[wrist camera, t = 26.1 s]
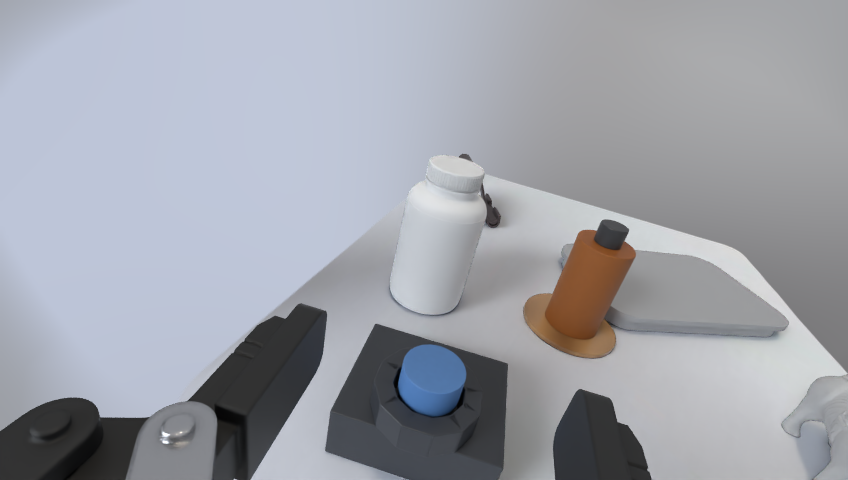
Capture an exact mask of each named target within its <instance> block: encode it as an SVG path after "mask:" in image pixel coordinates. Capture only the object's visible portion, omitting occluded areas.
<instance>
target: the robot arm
mask: <svg viewBox="0 0 848 480" xmlns="http://www.w3.org/2000/svg"><path fill="white" fill-rule="evenodd" d="M326 320H327V312H326V311H324V310H321V309H318V308H314V307H311V306H308V305H304V304H298V305H297V306H296V307H295V308H294V310H293V311H292V312H291V313H290V314H289V316H288V317H287V318H286V319H284V318H281V317H278V316H274V317H272V318H270V319H268V320H267V321H265V322H263V323H261V324H259V325H257V326H256V328H255V329H254V330H253V331H252V332H251V333H250V334H249V335H248V336H247V337H246V338H245V341H244V342H242V343H241V344H240V345H239V346H238V347H237V348H236V349H235V351H234V353H232V354H231V355H230V356H229V357H228V358H227V359H226V360H225V361H224V362H223V363H222V365H221V366H220V367H219V368H218V369H217V370H216V371H215V372H214V373H213V374H212V375H211V376H210V378H209V379H208V380H207V381H206V382H205V383H204V384H203V385H202V386H201V387H200V388H199V390H198V391H197V392H196V393H195V394H194V395H193V396H192V397H191V398H190V399H189V400H188V401H186V402H179V403H175V404H172V405H169V406H167V407H165V408H163V409H161V410H159V411H157V412H156V413H155V414H153V415H152V416H151V417H147V418H101V417H100V415H99V412H98V409H97V407H96V406H95V405H94V404H93V403H92V402H90V401H89V400H86V399H83V398H64V399H58V400H54V401H51V402H47V403H45V404H42V405H40V406H38V407H36V408H34V409H32V410H30V411H29V412H27V413H25V414H24V415H22V416H21V417H20V418H18V419H17V420H15V421H14V422H13V423H11V424H10V425H8V426H7V427H6V428H4V429H3V430H1V431H0V480H233V479H237V480H250V479H251V478H252V476H253V474H254V473H255V471H256V470H257V468H258V466H259V465H260V463H261V461H262V460H263V458H264V456H265V455H266V453H267V452H268V450H269V448H270V447H271V445H272V443H273V442H274V440H275V439H276V437H277V435H278V434H279V432H280V430H281V429H282V427H283V426H284V424H285V422H286V421H287V419H288V417H289V416H290V414H291V413H292V411H293V409H294V408H295V406H296V404H297V403H298V401H299V399H300V398H301V396H302V395H303V393H304V391H305V390H306V388H307V386H308V385H309V383H310V382H311V380H312V378H313V377H314V375H315V373H316V371H317V369H318V367H319V365H320V362H321V359H322V355H323V348H324V339H325V330H326ZM553 455H554V468H555V480H651V476H650V473H649V472H648V471H647V469H648V466H647V463H646V459H645V456H644V452H643V449H642V446H641V445H640V443H639V442H638V440H637V439H636V437H635V436H634V434H633V432H632V431H631V429H630V428H629V426H628V425H624V424H621V423H618V422H617V419H616V415H615V411H614V407H613V403H612V401H611V399H610V398H608V397H605V396H601V395H598V394H595V393H592V392H588V391H585V390H582V389H579V390H577V392H576V393H575V395H574V396H573V398H572V400H571V402H570V404H569V406H568V408H567V410H566V411H565V413H564V415H563V417H562V419H561V421H560V423H559V425H558V427H557V429H556V432H555V437H554V443H553Z"/></svg>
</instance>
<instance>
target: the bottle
mask: <svg viewBox="0 0 848 480" xmlns="http://www.w3.org/2000/svg"><path fill="white" fill-rule="evenodd" d="M628 232H629V229H628V228H627V227H626V226H624V225H623V224H621V223H618V222H616V221H612V220H602V221H601V223H600V225H599V228H598V230H597V231H595V230H583V231H580V232H579V233H578V236H577V238H576V240H575V243H574V245H573V247H572V250H571V252H570V254H569V257H568V259H567V261H566V264H565V266H564V268H563V271H562V273H561V276H560V278H559V280H558V283H557V285H556V287H555V290H554V292H553V294H552V297H551V299H550V301H549V304H548V306H547V308H546V311H545V316H546V319H547V321H548V322H549V323H550V324H551V326H553V327H554V328H555V329H556V330H558V331H559V332H561V333H562V334H564V335H567V336H569V337H572V338H575V339H582V340H586V339H590V338H592V337H594V336H595V334H596V333H597V331H598V329H599V327H600V325H601V323H602V321H603V319H604V317H605V315H606V313H607V311H608V309H609V307H610V305H611V303H612V302H613V300H614V298H615V296H616V294H617V292H618V290H619V288H620V286H621V284H622V282H623V280H624V278H625V276H626V274H627V272H628V271H629V269H630V267H631V265H632V263H633V261H634V259H635V257H636V252H635V250H634V249H633V248H632V247H631V246H630V245H629V244H627V243H626V242H624V240H625V238H626V236H627V234H628Z"/></svg>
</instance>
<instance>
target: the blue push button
mask: <svg viewBox="0 0 848 480" xmlns="http://www.w3.org/2000/svg"><path fill="white" fill-rule="evenodd" d="M465 380H466V369H465V366H464V364H463V362H462V361H461V359H460V358H459V357H458V356H457V355H456V354H454V353H453V352H452V351H450V350H448V349H446V348H444V347H441V346H437V345H420V346H417V347H414V348H413V349H411V350H410V351H409V352H408V353H407V354H406V355H405V357H404V360H403V364H402V369H401V373H400V377H399V381H398V392H399V395H400V397H401V399H402V401H403V402H404V404H405V405H406V406H407V407H409V408H410V409H411V410H413V411H414V412H416V413H418V414H422V415H425V416H429V417H438V416H443V415H446V414H448V413H449V412H451V411H452V410H453V409H454V408H455V407H456V405H457V403H458V401H459V398H460V395H461V392H462V389H463V386H464V383H465Z"/></svg>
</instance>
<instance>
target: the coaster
mask: <svg viewBox="0 0 848 480" xmlns="http://www.w3.org/2000/svg"><path fill="white" fill-rule="evenodd" d="M551 297H552V294H538V295H535V296H532V297H531V298H529V299H528V300H527V302H526V303H525V306H524V310H523V313H524V318H525V320H526V322H527V324H528V326H529V327H530V328H531V329H532V331H533V332H534V333H535V334H536V335H537V336H538V337H540V338H541V339H542V340H543V341H545V342H546V343H548V344H549V345H551V346H553V347H554V348H556V349H558V350H560V351H563V352H565V353H568V354H571V355H574V356H578V357H583V358H599V357H603V356H606V355H607V354H609V353H610V352H611V351H612V350H613V348H614V346H615V343H616V338H615V334H614V331H613V329H612V328H611V326H610V325H609V323H608V322H607V321H606V320H605V319H603V321H602V323H601V325H600V327H599V329H598V331H597V333H596V334H595V336H594V337H592V338H590V339H586V340H582V339H575V338H572V337H569V336H567V335H564V334H562V333H561V332H559V331H558V330H556V329H555V328H554V327H553V326H551V324H550V323H549V322H548V321H547V319H546V316H545V311H546V308H547V306H548V304H549V301H550V299H551Z"/></svg>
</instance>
